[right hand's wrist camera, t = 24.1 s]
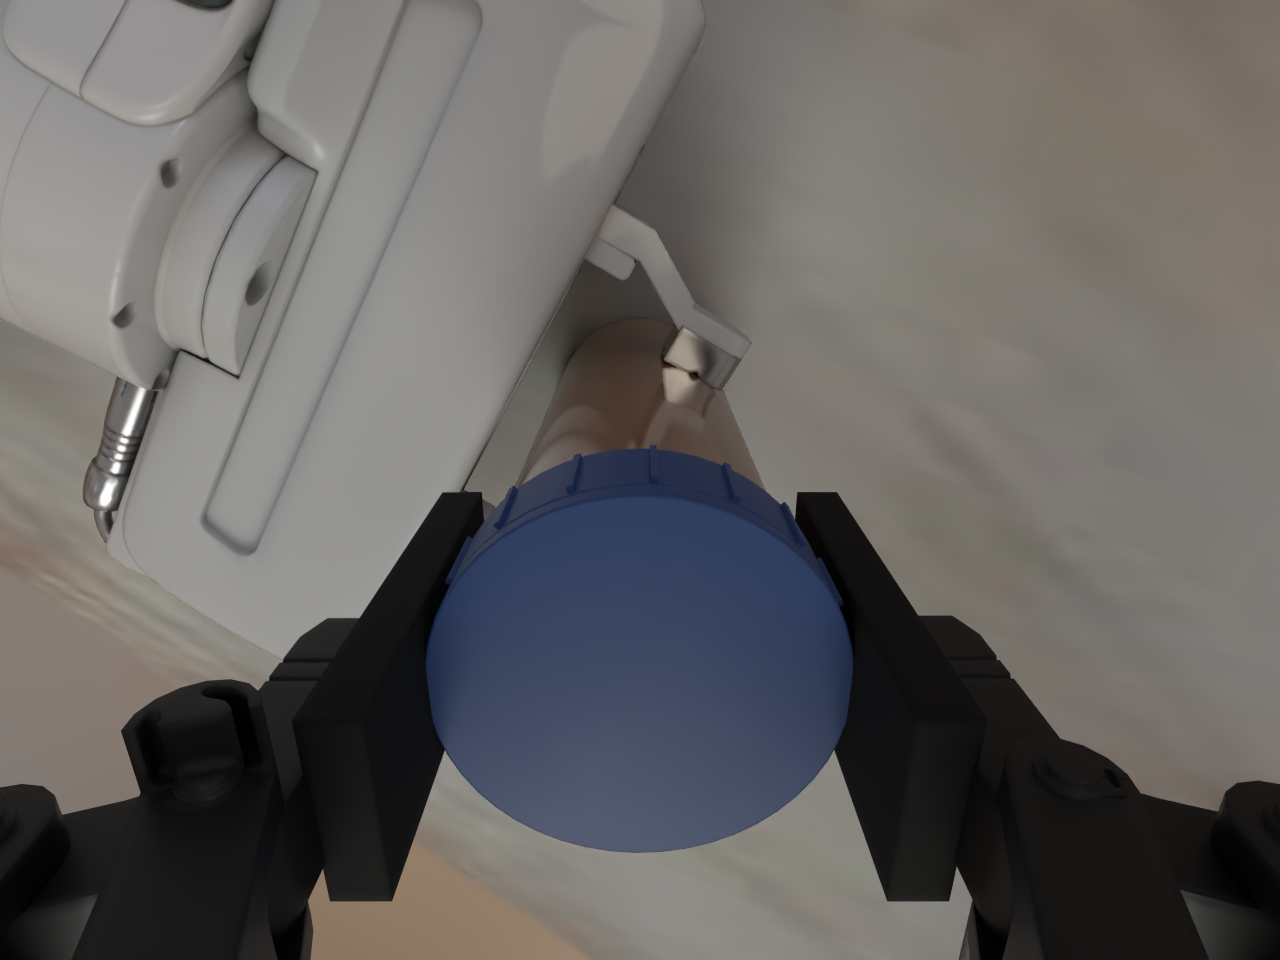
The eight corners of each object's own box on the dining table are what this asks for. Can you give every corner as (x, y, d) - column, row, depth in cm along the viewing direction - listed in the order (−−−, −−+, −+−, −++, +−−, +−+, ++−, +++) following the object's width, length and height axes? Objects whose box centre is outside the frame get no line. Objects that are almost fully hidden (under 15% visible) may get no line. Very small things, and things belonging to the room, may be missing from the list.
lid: (646, 357, 11) (647, 388, 9) (905, 624, 12) (949, 698, 10) (374, 615, 12) (328, 687, 10) (636, 822, 14) (636, 914, 12)
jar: (674, 288, 24) (724, 422, 10) (744, 428, 26) (872, 714, 12) (531, 364, 25) (389, 588, 11) (608, 495, 27) (572, 835, 13)
